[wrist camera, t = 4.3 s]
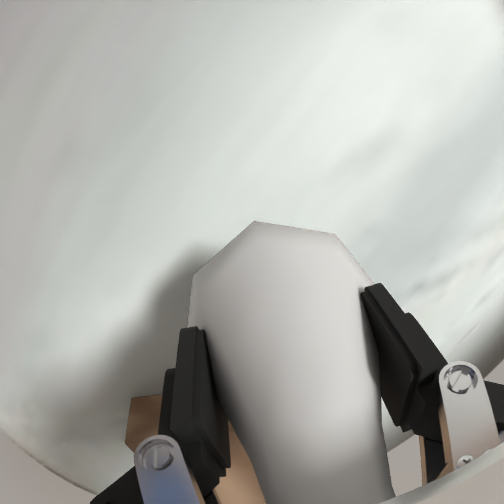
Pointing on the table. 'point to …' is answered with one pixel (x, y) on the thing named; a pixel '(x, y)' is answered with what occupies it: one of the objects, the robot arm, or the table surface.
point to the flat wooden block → (237, 477)
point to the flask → (296, 363)
